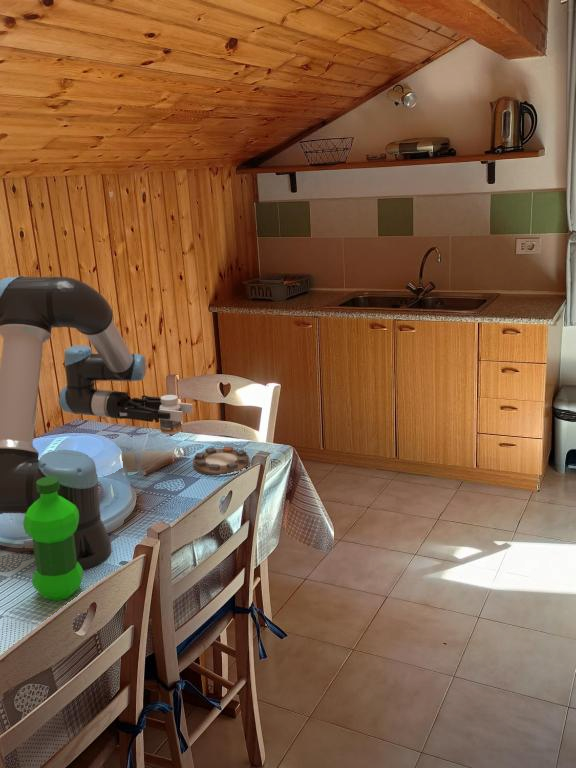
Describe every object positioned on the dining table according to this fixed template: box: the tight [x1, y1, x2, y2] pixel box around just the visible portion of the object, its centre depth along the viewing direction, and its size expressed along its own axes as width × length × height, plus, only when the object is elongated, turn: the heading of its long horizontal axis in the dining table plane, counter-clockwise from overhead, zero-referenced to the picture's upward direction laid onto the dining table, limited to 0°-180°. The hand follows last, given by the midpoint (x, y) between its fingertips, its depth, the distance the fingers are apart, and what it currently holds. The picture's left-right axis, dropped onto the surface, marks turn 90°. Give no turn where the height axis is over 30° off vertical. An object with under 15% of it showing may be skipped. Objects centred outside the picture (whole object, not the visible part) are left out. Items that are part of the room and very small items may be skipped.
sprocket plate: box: [192, 446, 251, 476], centre depth 215 cm, size 16×16×2 cm
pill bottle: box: [158, 394, 182, 435], centre depth 206 cm, size 6×6×10 cm
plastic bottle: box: [22, 476, 84, 602], centre depth 150 cm, size 10×10×25 cm
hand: (187, 412), depth 204 cm, fingers closed on pill bottle, 6 cm apart
